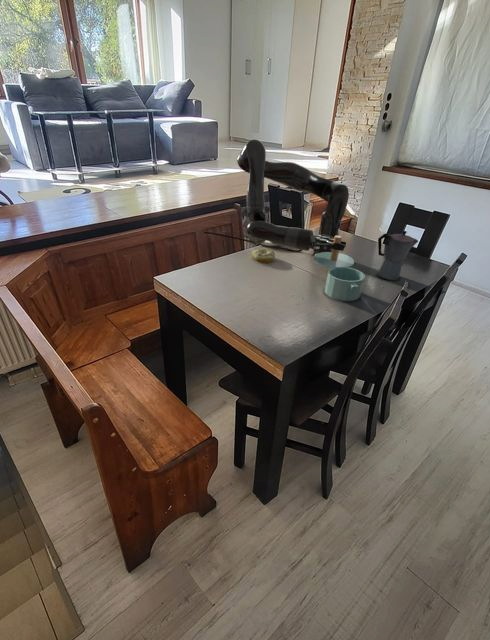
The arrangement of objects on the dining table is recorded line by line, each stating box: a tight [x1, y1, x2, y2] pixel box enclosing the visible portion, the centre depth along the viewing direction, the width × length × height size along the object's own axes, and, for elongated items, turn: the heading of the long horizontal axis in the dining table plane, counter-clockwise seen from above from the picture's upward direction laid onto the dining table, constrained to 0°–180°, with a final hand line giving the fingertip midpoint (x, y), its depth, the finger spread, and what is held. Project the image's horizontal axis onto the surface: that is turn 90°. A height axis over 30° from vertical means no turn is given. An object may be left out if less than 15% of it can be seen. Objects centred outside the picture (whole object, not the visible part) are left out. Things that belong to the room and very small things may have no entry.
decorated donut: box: [252, 248, 276, 264], centre depth 170 cm, size 10×11×4 cm
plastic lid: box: [261, 240, 278, 247], centre depth 189 cm, size 14×14×2 cm
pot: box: [324, 267, 366, 302], centre depth 140 cm, size 14×19×8 cm
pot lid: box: [312, 235, 355, 269], centre depth 132 cm, size 15×15×10 cm
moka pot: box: [377, 230, 419, 281], centre depth 152 cm, size 10×15×20 cm, turn 78°
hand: (344, 246), depth 130 cm, fingers closed on pot lid, 2 cm apart
